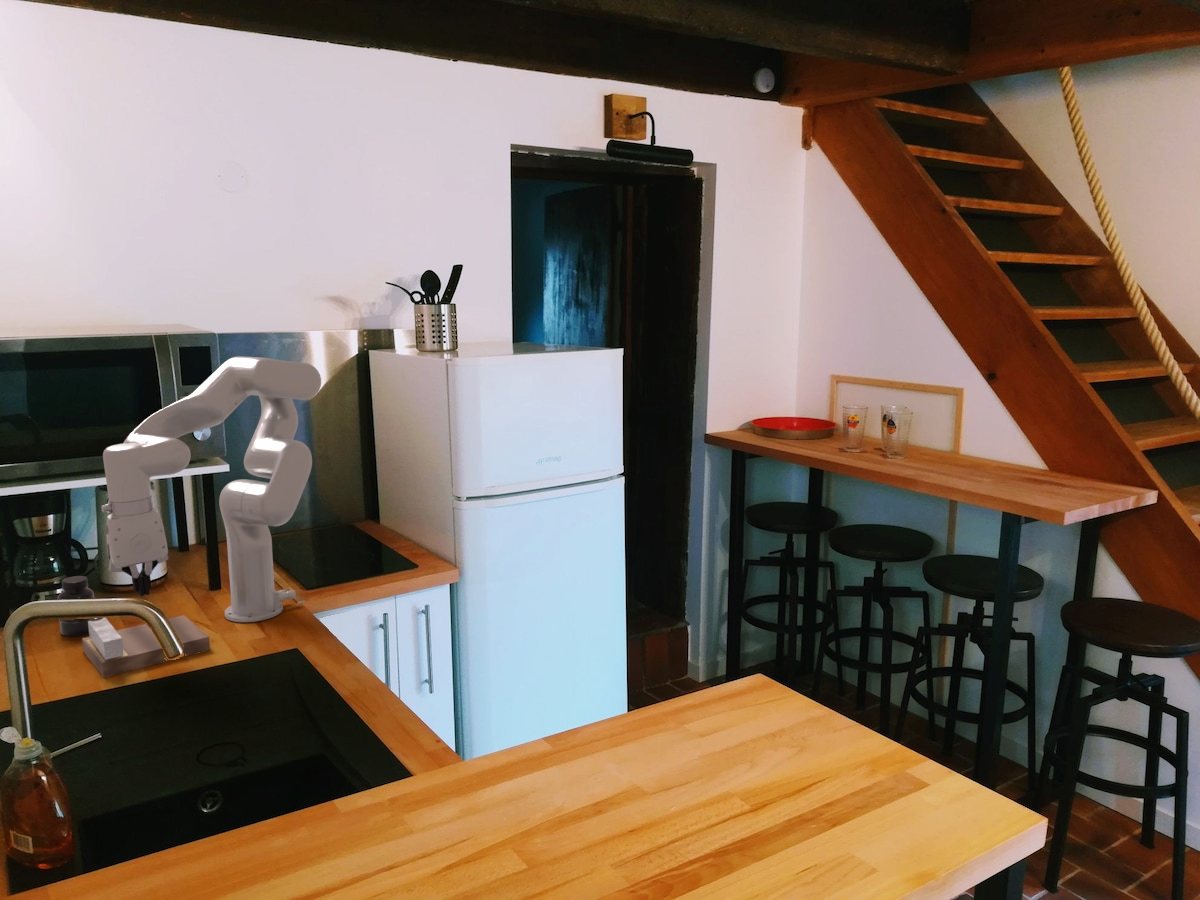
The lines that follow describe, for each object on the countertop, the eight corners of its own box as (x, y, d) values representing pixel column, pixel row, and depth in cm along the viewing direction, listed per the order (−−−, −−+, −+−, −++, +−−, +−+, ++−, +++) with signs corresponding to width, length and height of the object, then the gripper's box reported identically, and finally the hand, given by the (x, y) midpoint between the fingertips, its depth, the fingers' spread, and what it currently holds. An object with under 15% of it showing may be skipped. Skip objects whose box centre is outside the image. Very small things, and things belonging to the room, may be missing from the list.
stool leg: (87, 636, 182) (85, 617, 182) (105, 632, 184) (103, 614, 184) (105, 660, 171) (103, 641, 170) (123, 656, 173) (121, 637, 172)
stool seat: (185, 627, 196) (183, 614, 196) (210, 650, 184) (208, 635, 184) (83, 652, 183) (82, 637, 182) (103, 677, 171) (102, 662, 171)
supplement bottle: (64, 640, 189) (58, 586, 187) (58, 630, 194) (52, 578, 192) (100, 632, 193) (94, 580, 191) (93, 623, 198) (88, 572, 196)
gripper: (94, 518, 166) (107, 609, 170) (177, 502, 176) (188, 589, 180) (84, 509, 172) (97, 598, 176) (166, 495, 182) (176, 579, 186)
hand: (143, 593), depth 178 cm, fingers closed
